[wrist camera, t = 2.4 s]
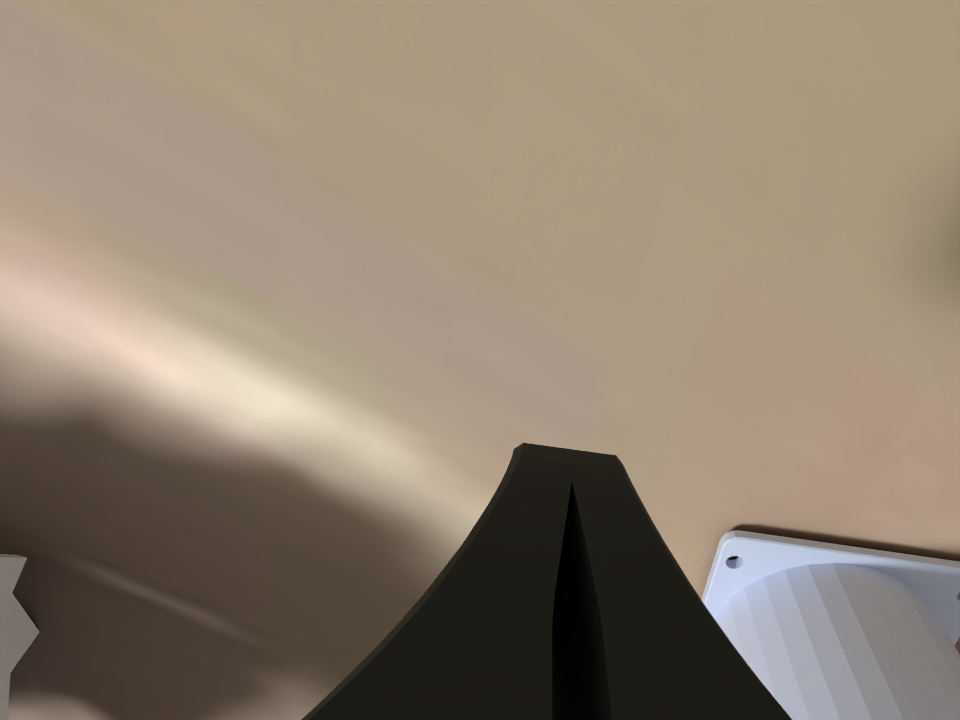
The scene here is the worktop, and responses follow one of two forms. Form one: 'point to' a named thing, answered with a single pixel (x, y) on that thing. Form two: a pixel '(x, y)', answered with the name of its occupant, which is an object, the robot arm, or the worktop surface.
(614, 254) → the worktop surface
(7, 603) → the spiral staircase
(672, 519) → the worktop surface
